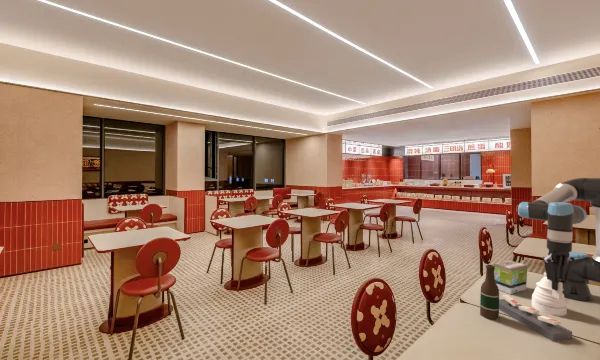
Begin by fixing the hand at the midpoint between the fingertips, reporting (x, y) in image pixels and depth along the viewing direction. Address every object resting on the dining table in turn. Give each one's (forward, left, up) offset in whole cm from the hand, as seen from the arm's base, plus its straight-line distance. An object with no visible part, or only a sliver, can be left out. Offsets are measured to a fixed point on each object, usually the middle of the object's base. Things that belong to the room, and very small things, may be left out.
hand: (556, 297), depth 114 cm
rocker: (0, -21, -11) cm, 24 cm away
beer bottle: (+14, -19, -17) cm, 28 cm away
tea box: (-21, -42, -17) cm, 50 cm away
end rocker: (0, -3, -11) cm, 12 cm away
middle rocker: (0, -12, -11) cm, 17 cm away
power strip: (0, -12, -16) cm, 20 cm away
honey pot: (-20, -20, -17) cm, 33 cm away
